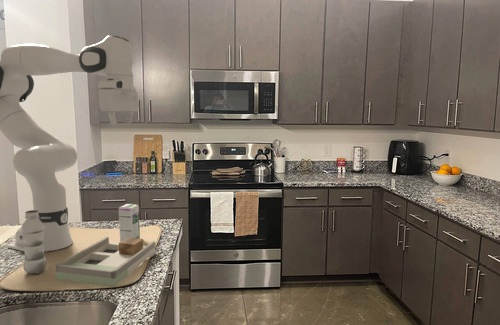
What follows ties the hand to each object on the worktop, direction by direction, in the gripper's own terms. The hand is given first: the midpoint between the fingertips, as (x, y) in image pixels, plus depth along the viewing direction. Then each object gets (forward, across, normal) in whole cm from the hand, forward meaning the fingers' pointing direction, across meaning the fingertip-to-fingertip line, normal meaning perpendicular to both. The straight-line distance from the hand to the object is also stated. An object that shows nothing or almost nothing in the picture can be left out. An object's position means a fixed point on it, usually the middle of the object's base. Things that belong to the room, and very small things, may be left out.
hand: (121, 124), depth 131 cm
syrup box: (+47, -12, -5) cm, 49 cm away
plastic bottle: (+47, +22, -19) cm, 55 cm away
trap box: (+47, +12, +1) cm, 48 cm away
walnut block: (+45, +4, +5) cm, 45 cm away
